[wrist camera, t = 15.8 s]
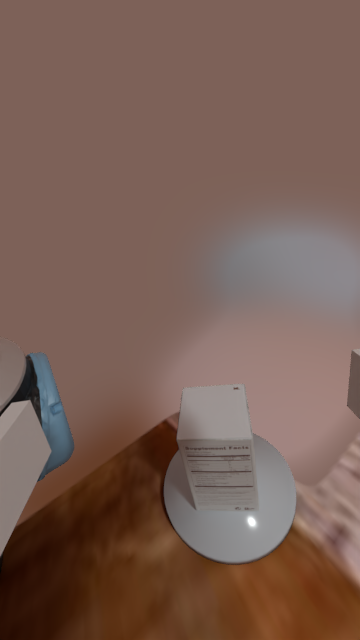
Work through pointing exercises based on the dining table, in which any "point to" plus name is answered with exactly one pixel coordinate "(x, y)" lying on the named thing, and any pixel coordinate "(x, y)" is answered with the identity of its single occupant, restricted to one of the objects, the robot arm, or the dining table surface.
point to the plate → (235, 512)
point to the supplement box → (218, 448)
